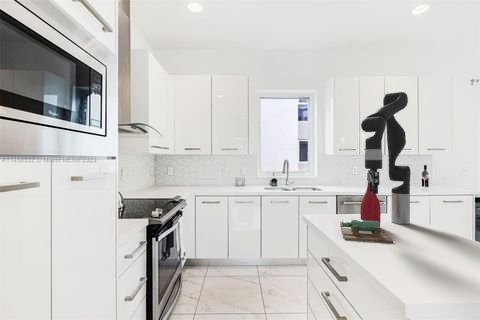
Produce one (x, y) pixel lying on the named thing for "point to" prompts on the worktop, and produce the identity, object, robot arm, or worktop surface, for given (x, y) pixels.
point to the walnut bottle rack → (366, 235)
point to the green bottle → (361, 225)
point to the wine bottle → (370, 206)
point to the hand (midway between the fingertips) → (373, 192)
